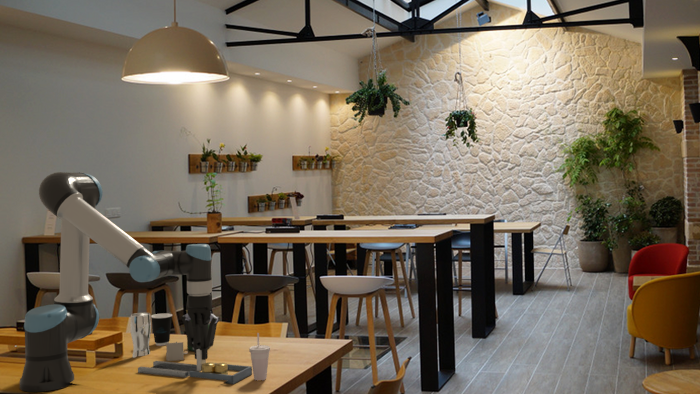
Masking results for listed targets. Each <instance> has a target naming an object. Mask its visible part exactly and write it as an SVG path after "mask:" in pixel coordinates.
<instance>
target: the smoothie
mask: <svg viewBox="0 0 700 394" xmlns="http://www.w3.org/2000/svg"><path fill="white" fill-rule="evenodd" d="M256 337H257V338H256V339H257V341H256V343H257V345H252V346H250V347H249V348H248V349H249V353H250V360H251V367H252V375H253V380H254V381H256V380H257V381H258V380H262V381H265V379H266V380H267V378H268V365H269V358H270V356H269V355H270V351H271V346H269V345H264V344H261V345H260V333H259V332H257V333H256Z"/></svg>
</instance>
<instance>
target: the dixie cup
mask: <svg viewBox="0 0 700 394" xmlns="http://www.w3.org/2000/svg"><path fill="white" fill-rule="evenodd" d="M172 317H173V314H172V313H166V312H165V313H164V312H163V313H157V314H156V313H155V314H152V315H150V318H151V326H152V332H153V338H154V339H153V340H154V343H155V345H156V346H161V347H162V346H167V345H166V343H170V340H171V339H170V338H171V328H172Z"/></svg>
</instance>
